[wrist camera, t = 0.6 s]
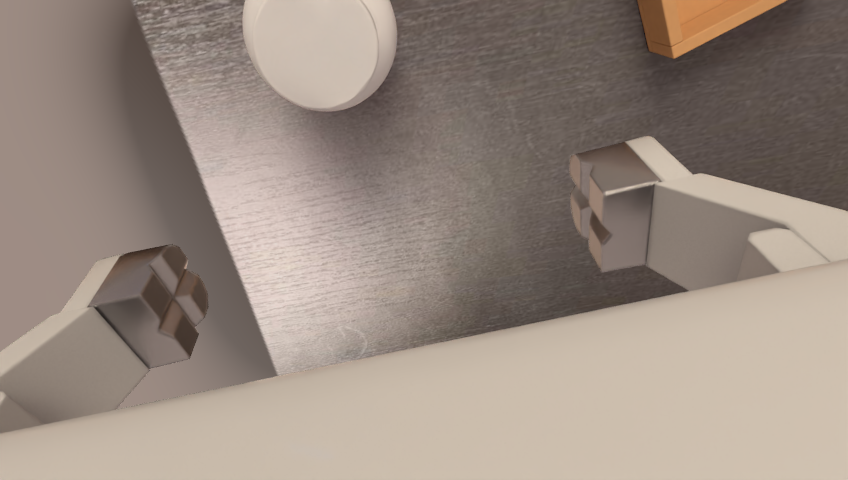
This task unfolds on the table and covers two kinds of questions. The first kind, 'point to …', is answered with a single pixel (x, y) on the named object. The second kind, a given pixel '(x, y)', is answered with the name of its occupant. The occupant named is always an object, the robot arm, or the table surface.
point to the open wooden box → (694, 21)
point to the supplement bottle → (321, 49)
